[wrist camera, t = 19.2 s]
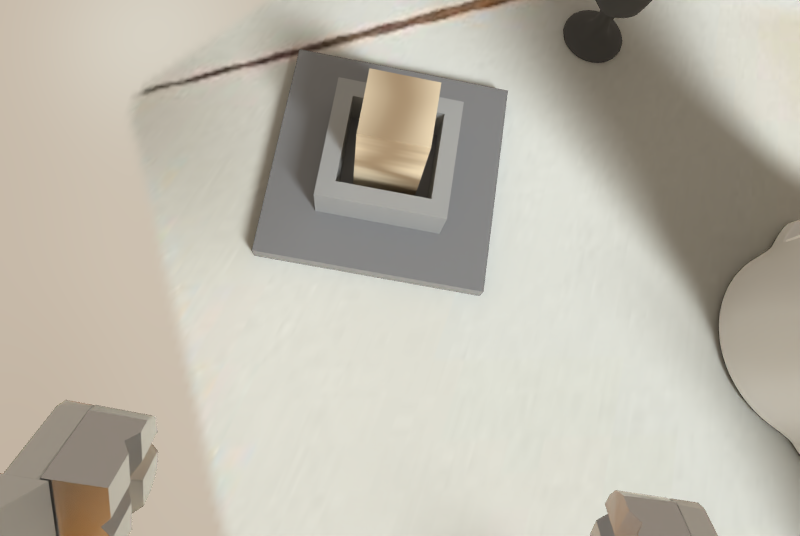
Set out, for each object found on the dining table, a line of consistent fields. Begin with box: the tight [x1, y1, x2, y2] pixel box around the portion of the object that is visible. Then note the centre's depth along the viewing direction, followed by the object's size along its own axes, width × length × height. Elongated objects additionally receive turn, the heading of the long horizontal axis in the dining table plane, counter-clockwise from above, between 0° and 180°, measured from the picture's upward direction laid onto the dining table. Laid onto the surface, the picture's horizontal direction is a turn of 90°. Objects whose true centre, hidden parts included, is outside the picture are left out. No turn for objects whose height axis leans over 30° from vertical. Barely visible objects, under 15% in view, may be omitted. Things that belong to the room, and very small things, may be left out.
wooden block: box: [353, 68, 441, 196], centre depth 39 cm, size 4×4×8 cm
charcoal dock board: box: [252, 49, 508, 296], centre depth 42 cm, size 16×16×4 cm
